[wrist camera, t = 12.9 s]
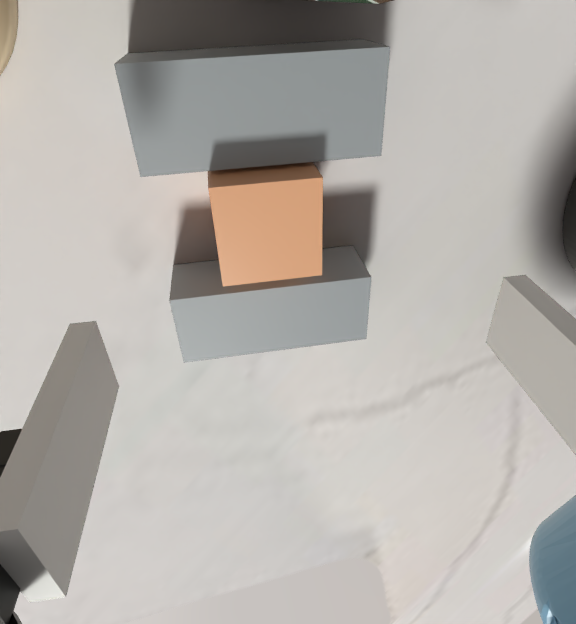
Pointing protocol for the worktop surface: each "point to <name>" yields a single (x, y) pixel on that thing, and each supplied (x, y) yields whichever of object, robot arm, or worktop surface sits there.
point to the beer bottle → (358, 1)
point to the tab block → (267, 222)
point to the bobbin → (7, 30)
